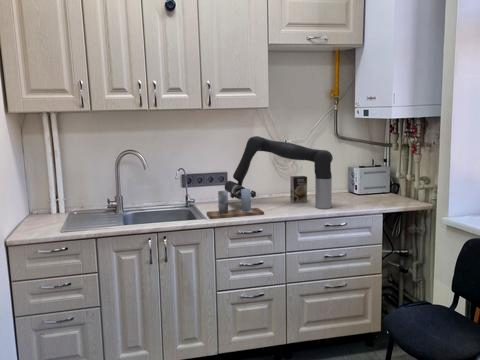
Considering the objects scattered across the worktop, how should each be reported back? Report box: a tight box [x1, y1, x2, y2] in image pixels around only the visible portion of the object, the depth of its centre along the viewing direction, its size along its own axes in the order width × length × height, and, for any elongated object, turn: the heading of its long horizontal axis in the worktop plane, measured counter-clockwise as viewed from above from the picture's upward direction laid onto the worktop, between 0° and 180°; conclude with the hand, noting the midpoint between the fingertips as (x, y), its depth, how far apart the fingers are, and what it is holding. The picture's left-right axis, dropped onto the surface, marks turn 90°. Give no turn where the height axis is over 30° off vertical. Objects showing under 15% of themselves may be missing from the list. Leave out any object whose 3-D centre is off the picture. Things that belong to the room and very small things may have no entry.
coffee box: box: [289, 175, 308, 204], centre depth 272 cm, size 9×6×16 cm
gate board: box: [206, 190, 265, 220], centre depth 242 cm, size 30×12×14 cm, turn 104°
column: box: [240, 188, 252, 212], centre depth 243 cm, size 5×5×12 cm
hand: (246, 196), depth 242 cm, fingers open, 8 cm apart
